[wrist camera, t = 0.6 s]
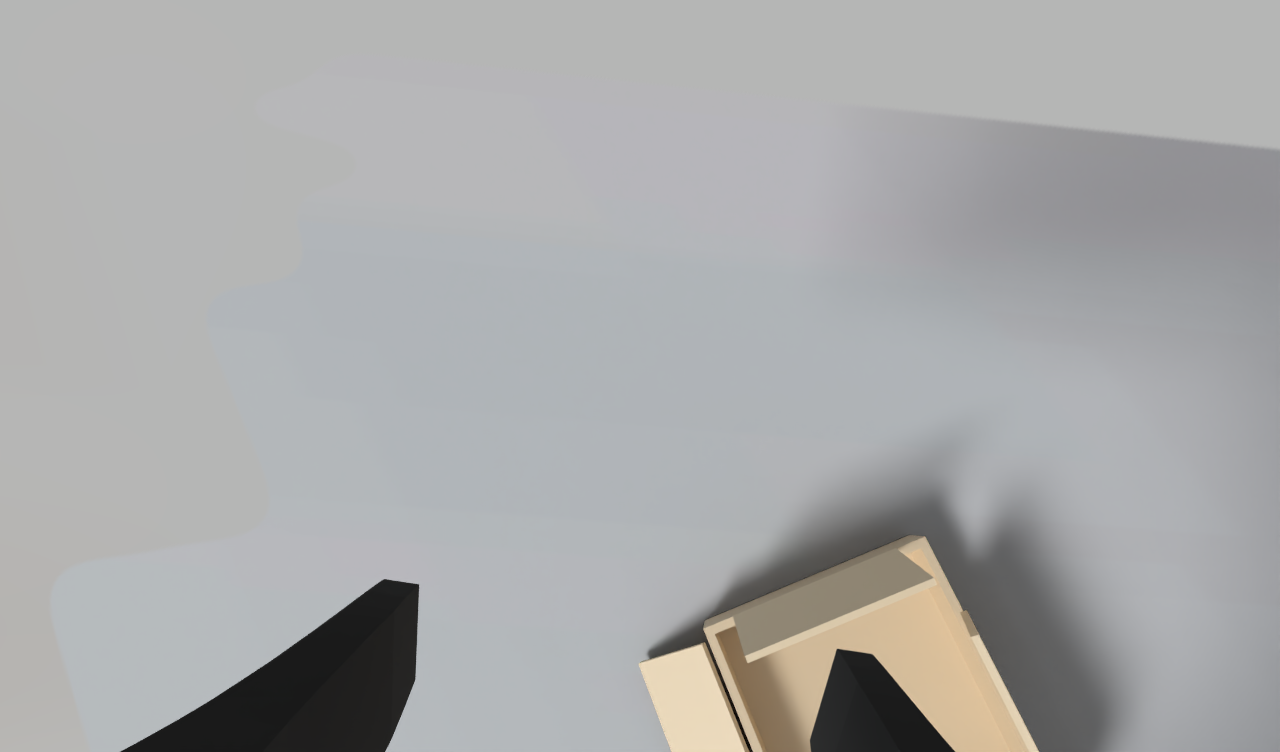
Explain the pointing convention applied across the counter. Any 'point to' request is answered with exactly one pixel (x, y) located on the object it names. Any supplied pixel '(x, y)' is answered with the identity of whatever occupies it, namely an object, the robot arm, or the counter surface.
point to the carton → (797, 675)
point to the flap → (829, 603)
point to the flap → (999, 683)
